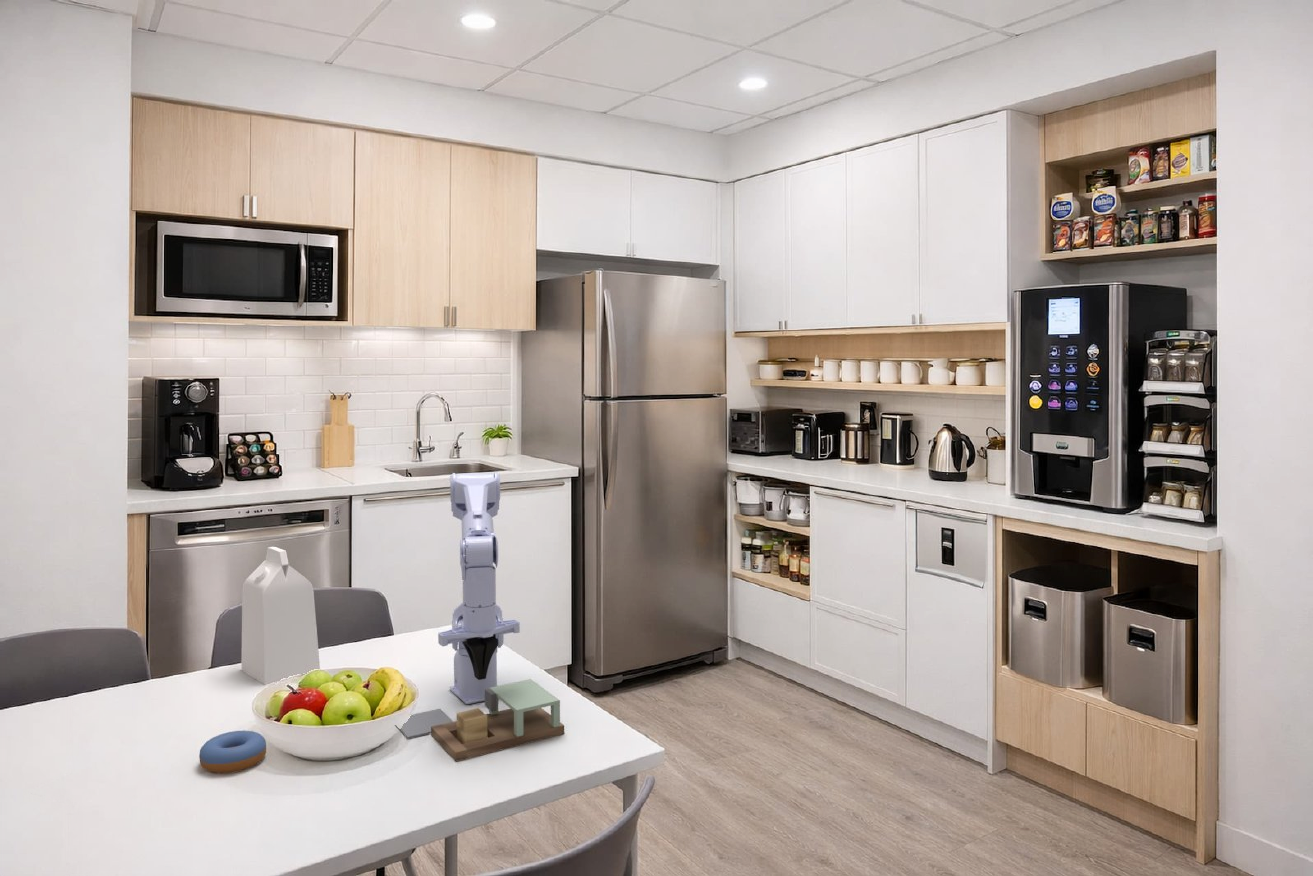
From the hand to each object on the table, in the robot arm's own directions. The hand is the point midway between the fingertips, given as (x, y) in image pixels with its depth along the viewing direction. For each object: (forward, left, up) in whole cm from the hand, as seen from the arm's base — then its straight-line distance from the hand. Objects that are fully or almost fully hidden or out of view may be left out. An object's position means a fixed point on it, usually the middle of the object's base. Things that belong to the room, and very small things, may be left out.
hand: (480, 677), depth 156 cm
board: (+4, +1, -9) cm, 10 cm away
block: (+5, -4, -9) cm, 11 cm away
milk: (-50, -25, -10) cm, 56 cm away
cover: (+4, +6, -8) cm, 11 cm away
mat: (-7, -8, -9) cm, 14 cm away
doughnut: (-9, -39, -10) cm, 41 cm away
